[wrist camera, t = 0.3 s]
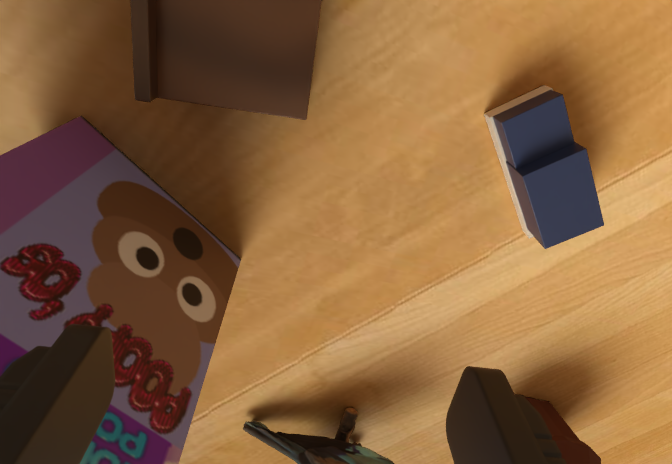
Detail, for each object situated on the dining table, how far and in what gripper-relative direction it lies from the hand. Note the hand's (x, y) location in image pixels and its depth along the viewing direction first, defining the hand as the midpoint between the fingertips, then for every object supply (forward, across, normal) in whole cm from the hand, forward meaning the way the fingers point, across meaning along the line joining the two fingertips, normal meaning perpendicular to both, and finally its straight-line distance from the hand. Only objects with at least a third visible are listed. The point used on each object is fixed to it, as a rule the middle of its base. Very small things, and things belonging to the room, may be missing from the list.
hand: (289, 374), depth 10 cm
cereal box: (+29, +13, +11) cm, 33 cm away
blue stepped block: (+29, -19, +2) cm, 34 cm away
